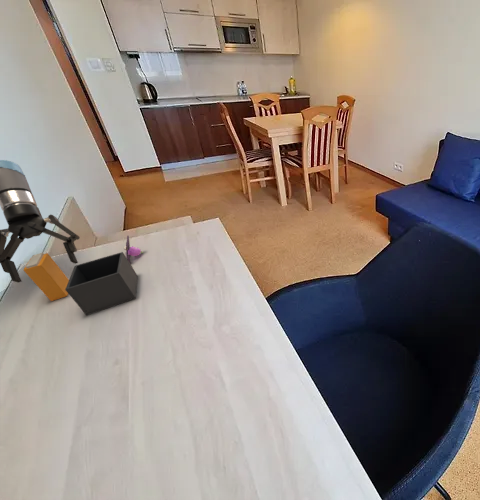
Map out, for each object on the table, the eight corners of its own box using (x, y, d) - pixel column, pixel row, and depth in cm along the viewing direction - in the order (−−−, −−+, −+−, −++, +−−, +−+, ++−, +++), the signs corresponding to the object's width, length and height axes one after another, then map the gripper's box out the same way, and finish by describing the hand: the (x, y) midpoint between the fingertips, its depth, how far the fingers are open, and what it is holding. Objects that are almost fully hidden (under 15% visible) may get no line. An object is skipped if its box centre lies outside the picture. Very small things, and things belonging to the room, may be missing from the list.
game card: (124, 235, 106) (123, 247, 100) (142, 235, 109) (142, 246, 102) (126, 252, 109) (125, 264, 102) (143, 251, 112) (143, 263, 105)
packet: (51, 301, 90) (21, 268, 83) (56, 288, 95) (29, 255, 88) (67, 296, 91) (39, 263, 84) (71, 283, 97) (46, 251, 89)
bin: (86, 315, 84) (65, 289, 78) (93, 290, 93) (74, 265, 87) (135, 298, 88) (119, 272, 83) (137, 276, 97) (122, 251, 92)
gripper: (76, 201, 100) (101, 258, 98) (-26, 227, 89) (0, 291, 88) (64, 191, 93) (91, 251, 92) (-47, 218, 83) (-20, 287, 81)
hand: (46, 271), depth 90 cm, fingers open, 13 cm apart
